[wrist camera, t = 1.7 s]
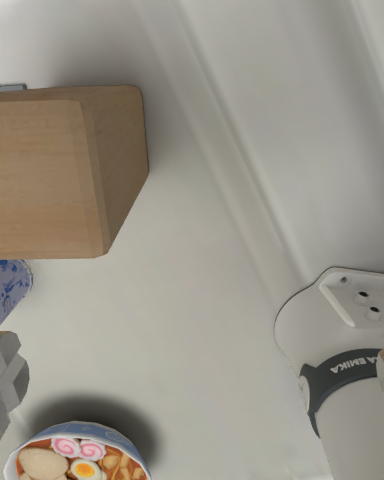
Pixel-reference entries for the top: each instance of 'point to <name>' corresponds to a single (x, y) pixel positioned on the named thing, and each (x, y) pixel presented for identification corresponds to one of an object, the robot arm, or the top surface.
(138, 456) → the ramen bowl
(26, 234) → the wooden block
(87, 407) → the top surface
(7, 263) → the aerosol can
